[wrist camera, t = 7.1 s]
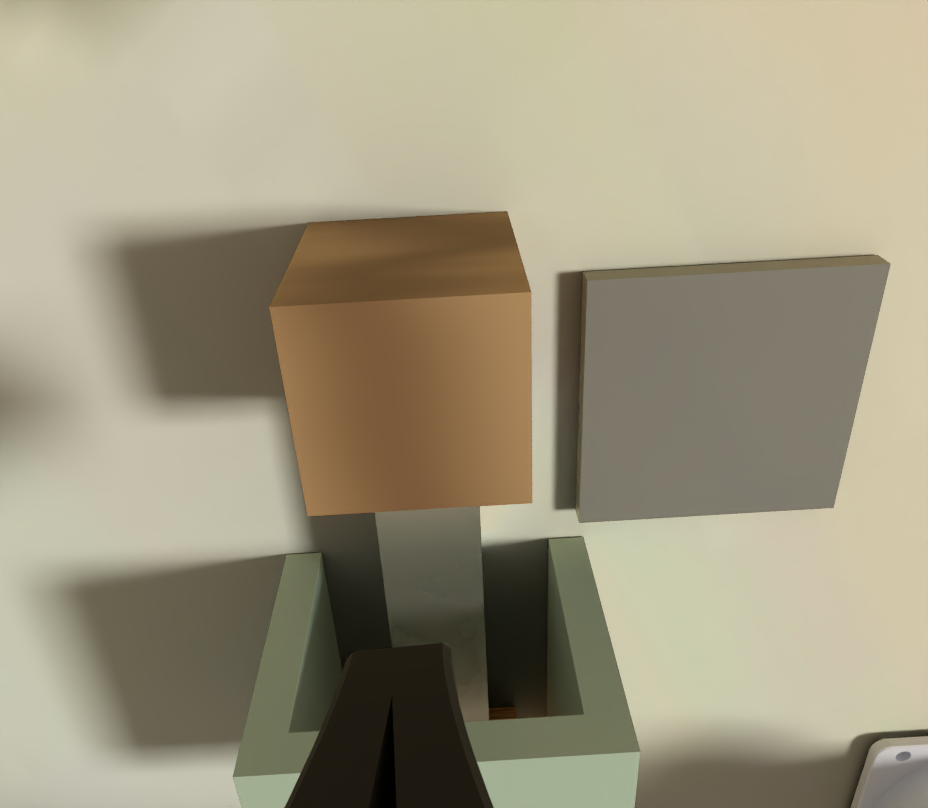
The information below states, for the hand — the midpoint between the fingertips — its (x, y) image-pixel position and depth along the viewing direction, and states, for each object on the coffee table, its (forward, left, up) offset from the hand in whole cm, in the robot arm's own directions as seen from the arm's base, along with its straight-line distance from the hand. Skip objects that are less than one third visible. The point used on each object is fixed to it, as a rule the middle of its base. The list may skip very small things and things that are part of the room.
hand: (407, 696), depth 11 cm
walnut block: (0, -2, -10) cm, 10 cm away
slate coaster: (-8, +1, -10) cm, 13 cm away
